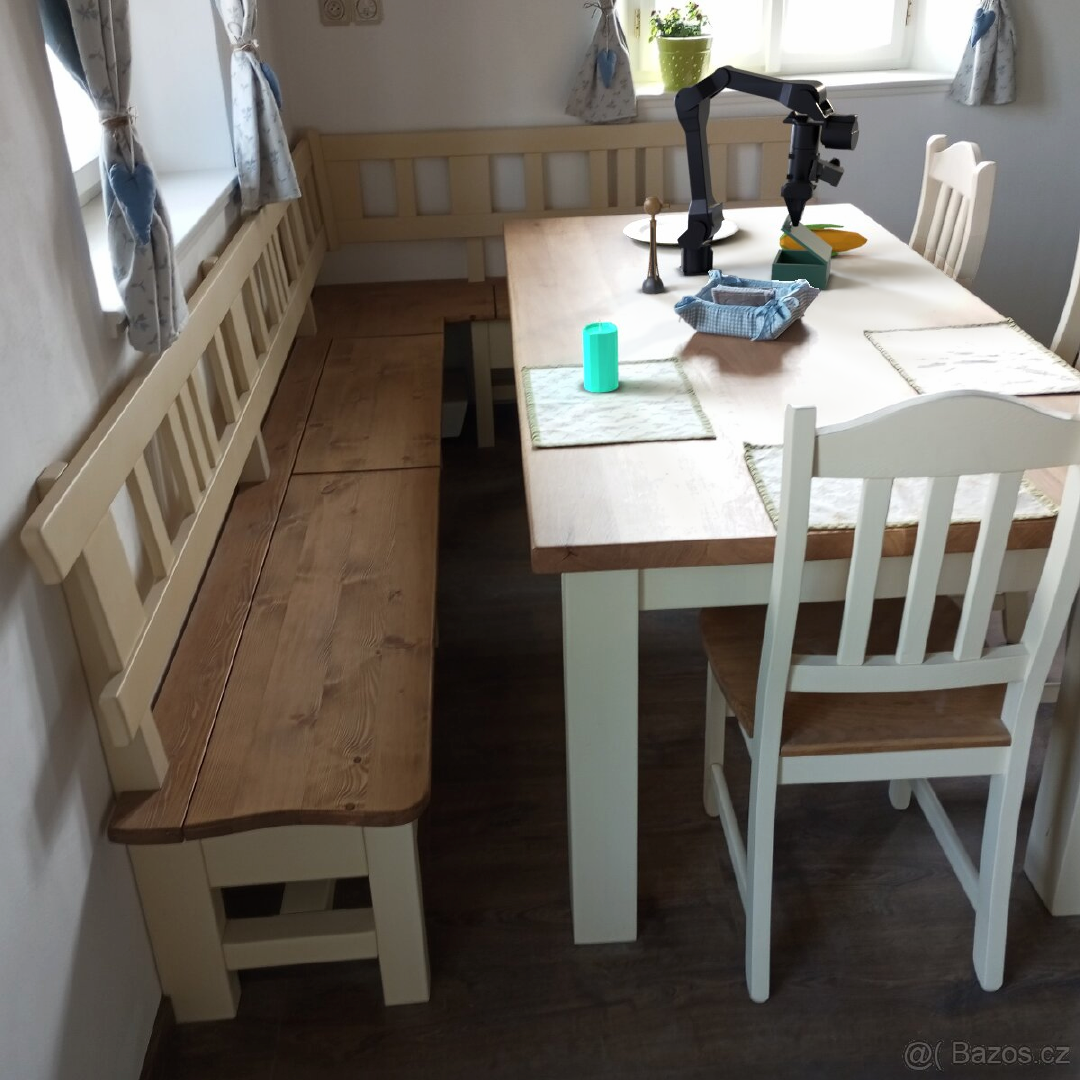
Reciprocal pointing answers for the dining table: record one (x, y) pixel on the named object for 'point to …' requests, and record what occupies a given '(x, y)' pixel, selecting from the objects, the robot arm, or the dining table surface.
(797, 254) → the chest
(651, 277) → the wooden tabletop sculpture
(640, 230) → the plate
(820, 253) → the lid
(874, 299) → the dining table surface
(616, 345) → the candle
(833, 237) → the corn
